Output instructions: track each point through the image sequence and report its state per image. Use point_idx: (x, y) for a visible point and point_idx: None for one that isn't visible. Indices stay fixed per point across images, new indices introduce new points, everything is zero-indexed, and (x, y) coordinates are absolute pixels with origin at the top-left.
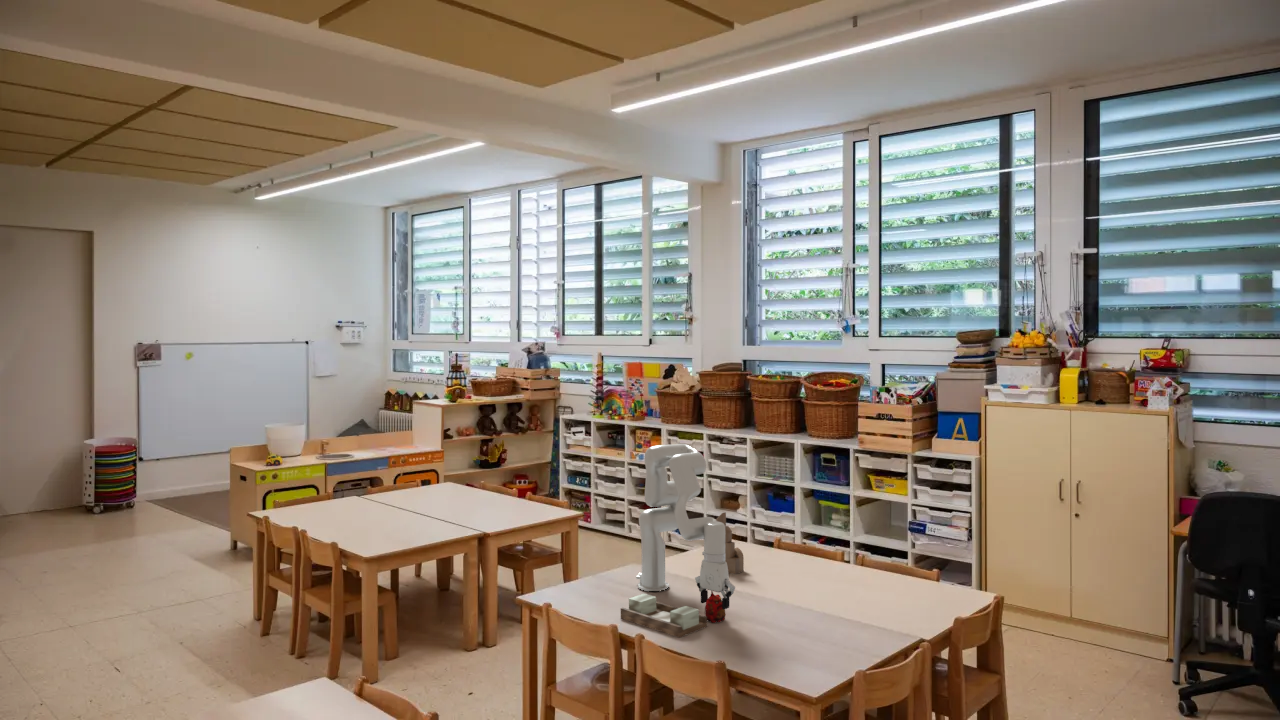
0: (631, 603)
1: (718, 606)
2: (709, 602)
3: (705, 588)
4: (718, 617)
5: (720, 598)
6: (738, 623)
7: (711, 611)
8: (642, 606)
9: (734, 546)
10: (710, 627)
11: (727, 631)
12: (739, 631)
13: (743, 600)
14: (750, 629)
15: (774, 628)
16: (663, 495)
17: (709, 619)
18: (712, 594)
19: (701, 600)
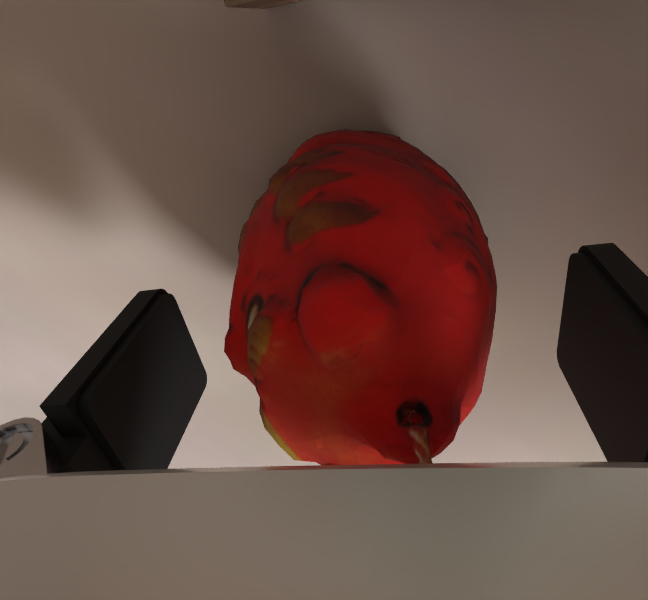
0: None
1: (235, 296)
2: (337, 240)
3: (530, 469)
4: (250, 215)
5: (274, 435)
6: (187, 324)
7: (283, 171)
8: None
9: None
10: (221, 29)
11: (35, 106)
12: (5, 202)
13: None
14: (27, 300)
15: (3, 412)
16: None
17: (332, 131)
18: (396, 435)
19: (612, 264)
